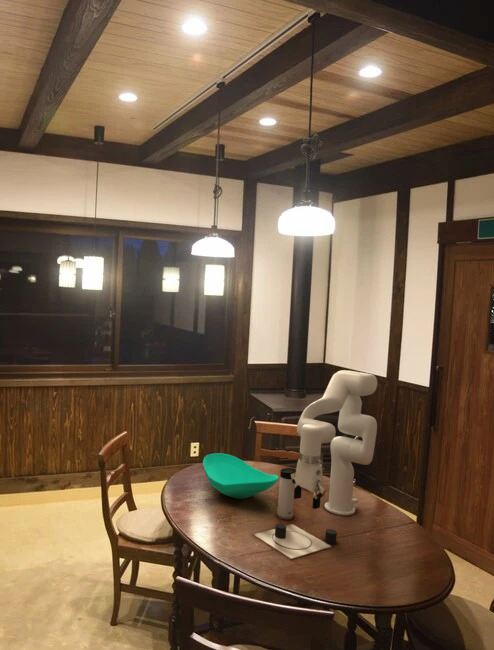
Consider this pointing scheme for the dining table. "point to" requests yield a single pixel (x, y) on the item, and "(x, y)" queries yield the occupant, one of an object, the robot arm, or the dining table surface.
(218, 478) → the table top decor
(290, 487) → the travel mug
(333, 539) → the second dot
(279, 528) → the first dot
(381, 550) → the dining table surface
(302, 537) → the drawing board
